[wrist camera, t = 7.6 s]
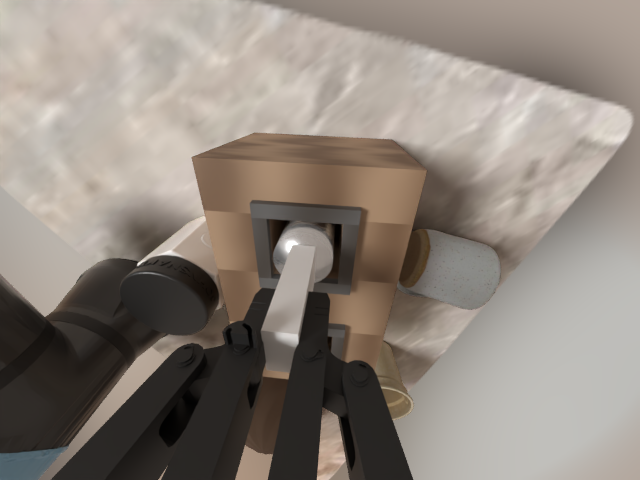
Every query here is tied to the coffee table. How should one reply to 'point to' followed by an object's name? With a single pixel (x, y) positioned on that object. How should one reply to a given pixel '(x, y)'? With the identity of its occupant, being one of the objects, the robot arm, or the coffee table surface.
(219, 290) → the jar
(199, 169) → the walnut block
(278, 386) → the decorative dome
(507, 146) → the coffee table surface
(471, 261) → the ceramic mug
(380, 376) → the flower pot
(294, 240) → the peg steel
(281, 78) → the coffee table surface
